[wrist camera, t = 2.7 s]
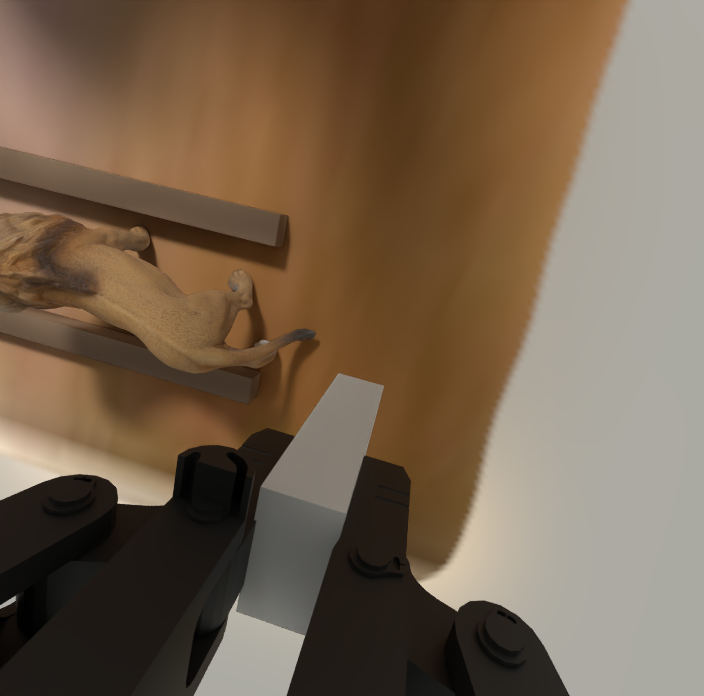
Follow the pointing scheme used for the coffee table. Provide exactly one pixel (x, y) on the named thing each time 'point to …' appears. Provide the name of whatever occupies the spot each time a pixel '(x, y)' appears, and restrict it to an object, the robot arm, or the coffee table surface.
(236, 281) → the lion figurine
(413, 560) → the coffee table surface
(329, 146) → the coffee table surface
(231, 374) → the track
